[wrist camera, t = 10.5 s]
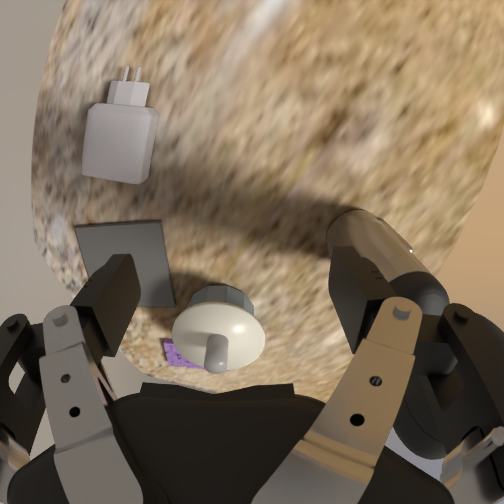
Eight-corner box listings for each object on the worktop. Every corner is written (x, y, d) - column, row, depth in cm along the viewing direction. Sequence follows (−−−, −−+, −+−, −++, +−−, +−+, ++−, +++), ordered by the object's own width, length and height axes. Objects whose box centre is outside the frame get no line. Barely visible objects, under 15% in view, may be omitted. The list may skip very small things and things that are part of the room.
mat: (161, 220, 40) (159, 222, 39) (176, 303, 47) (175, 307, 46) (77, 226, 40) (74, 228, 39) (100, 301, 46) (98, 304, 46)
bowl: (252, 283, 45) (253, 309, 39) (253, 333, 50) (254, 360, 44) (184, 284, 45) (176, 309, 39) (193, 333, 50) (188, 360, 44)
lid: (265, 300, 38) (267, 329, 33) (264, 365, 45) (266, 393, 40) (164, 301, 38) (154, 329, 33) (181, 365, 45) (176, 392, 40)
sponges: (165, 336, 51) (163, 342, 49) (231, 341, 51) (230, 348, 50) (169, 359, 54) (168, 366, 52) (230, 364, 55) (229, 371, 53)
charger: (171, 71, 30) (150, 177, 37) (111, 67, 29) (94, 167, 36) (161, 66, 26) (138, 185, 33) (95, 63, 25) (78, 175, 31)
